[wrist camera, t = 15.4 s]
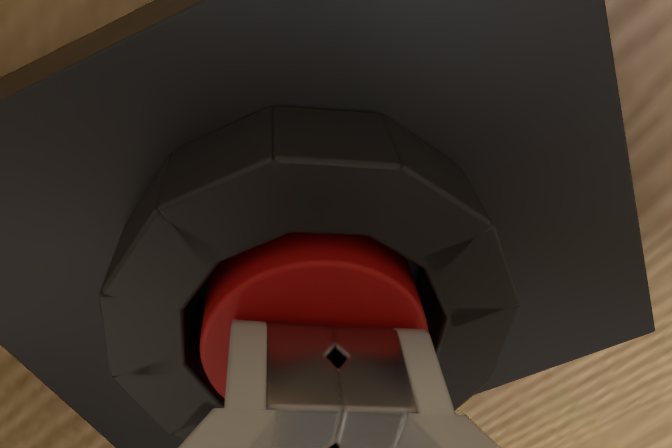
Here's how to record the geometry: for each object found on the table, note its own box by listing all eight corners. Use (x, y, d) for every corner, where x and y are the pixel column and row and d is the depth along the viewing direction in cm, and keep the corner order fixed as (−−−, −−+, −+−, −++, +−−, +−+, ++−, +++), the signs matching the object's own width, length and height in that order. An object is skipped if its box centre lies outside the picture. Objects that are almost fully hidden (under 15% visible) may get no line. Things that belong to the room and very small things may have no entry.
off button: (267, 376, 12) (266, 451, 10) (168, 248, 10) (151, 319, 8) (433, 313, 11) (457, 384, 10) (364, 165, 9) (382, 225, 8)
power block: (185, 426, 16) (163, 577, 13) (-102, 129, 11) (-267, 258, 8) (607, 269, 14) (708, 398, 11) (515, -182, 9) (658, -192, 6)
